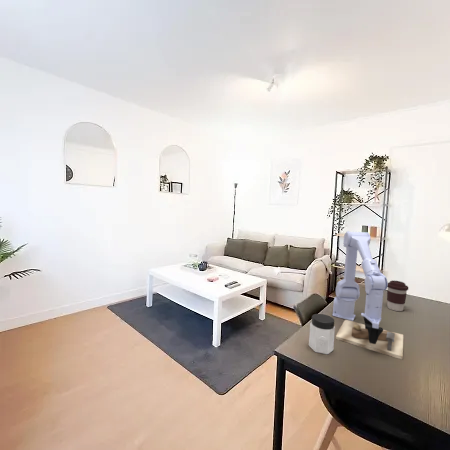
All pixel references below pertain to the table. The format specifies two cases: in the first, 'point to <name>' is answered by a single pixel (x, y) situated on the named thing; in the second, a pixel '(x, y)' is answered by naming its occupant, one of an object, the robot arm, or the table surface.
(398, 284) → the coffee cup
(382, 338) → the brown long round-headed piece
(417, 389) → the table surface
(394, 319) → the table surface
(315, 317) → the jar
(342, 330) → the plate
